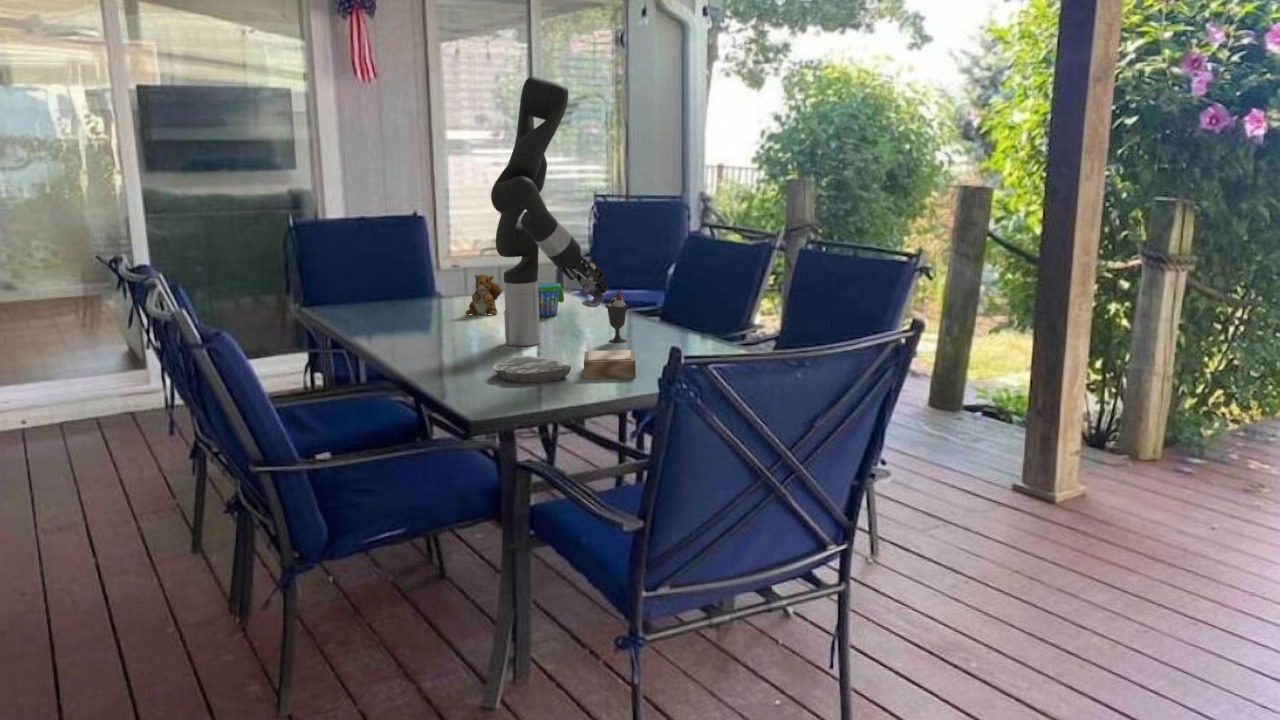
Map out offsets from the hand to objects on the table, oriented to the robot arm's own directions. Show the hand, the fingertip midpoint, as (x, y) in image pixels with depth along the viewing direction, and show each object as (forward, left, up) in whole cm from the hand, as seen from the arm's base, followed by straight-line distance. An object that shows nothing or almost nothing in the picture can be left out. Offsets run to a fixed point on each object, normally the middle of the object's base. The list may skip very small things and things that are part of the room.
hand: (597, 289), depth 237 cm
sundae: (+5, +28, -19) cm, 34 cm away
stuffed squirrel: (-39, +81, -19) cm, 92 cm away
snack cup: (-18, +74, -19) cm, 78 cm away
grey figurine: (-1, -1, -4) cm, 5 cm away
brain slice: (-16, -12, -19) cm, 28 cm away
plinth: (+3, -10, -19) cm, 21 cm away
